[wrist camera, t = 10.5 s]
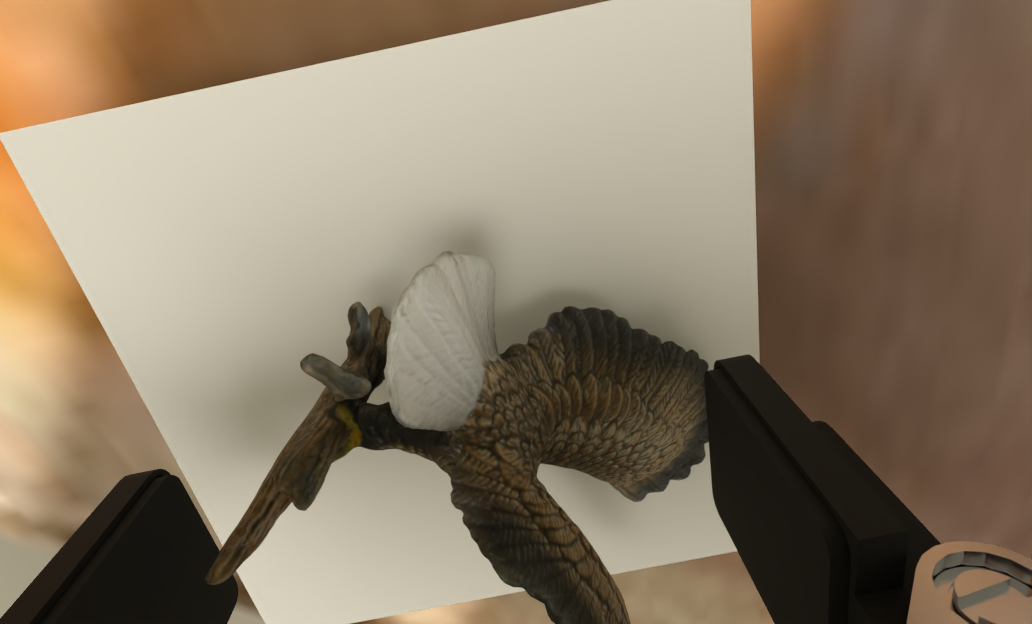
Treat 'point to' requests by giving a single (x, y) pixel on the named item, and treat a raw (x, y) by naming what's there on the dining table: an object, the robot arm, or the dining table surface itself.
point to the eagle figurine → (498, 426)
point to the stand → (414, 264)
